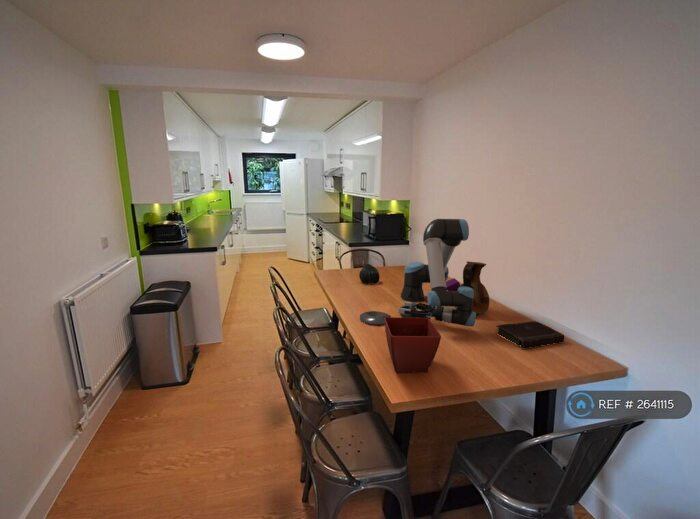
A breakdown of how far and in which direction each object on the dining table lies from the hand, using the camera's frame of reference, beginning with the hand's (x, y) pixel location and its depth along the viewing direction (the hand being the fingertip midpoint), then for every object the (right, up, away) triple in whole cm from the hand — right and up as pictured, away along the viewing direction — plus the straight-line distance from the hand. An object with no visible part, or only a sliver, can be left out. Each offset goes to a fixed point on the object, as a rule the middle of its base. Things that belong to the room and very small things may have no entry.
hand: (401, 307), depth 185 cm
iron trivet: (-14, -7, +1) cm, 16 cm away
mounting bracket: (+37, +2, +50) cm, 62 cm away
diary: (+59, -13, -18) cm, 63 cm away
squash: (-14, +8, +70) cm, 72 cm away
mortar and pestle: (+4, -8, -1) cm, 8 cm away
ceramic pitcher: (+42, -5, +15) cm, 45 cm away
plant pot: (-4, -17, -45) cm, 49 cm away
